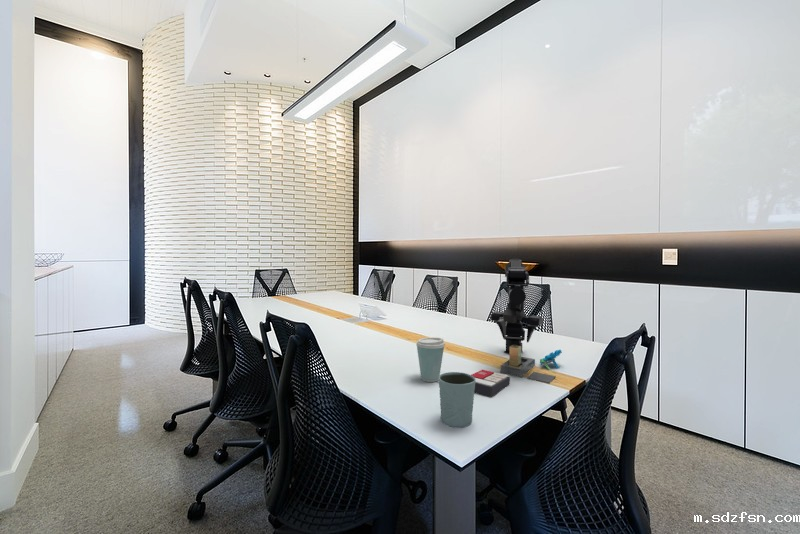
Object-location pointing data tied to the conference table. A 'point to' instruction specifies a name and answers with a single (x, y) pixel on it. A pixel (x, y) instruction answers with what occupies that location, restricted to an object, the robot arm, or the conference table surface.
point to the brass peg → (515, 355)
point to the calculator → (490, 382)
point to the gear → (550, 359)
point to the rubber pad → (541, 377)
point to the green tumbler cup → (456, 398)
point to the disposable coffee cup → (430, 357)
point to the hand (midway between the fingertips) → (515, 340)
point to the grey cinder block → (518, 371)
